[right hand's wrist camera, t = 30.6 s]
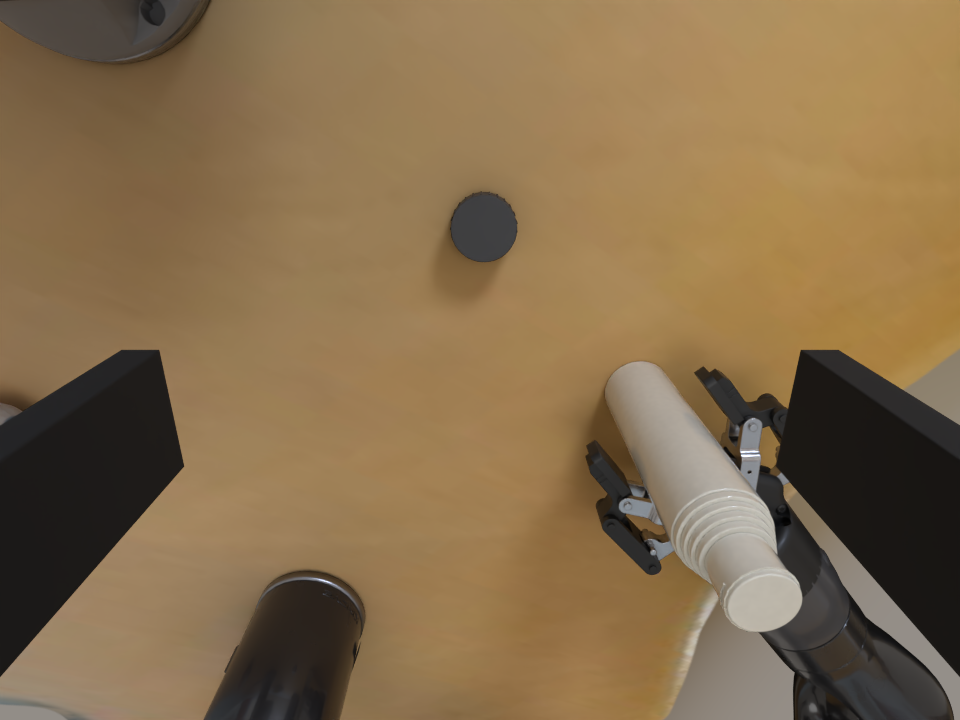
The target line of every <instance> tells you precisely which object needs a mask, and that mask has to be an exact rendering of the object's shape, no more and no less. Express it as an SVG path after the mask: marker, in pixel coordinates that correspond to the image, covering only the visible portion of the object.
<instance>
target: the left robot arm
mask: <svg viewBox="0 0 960 720" xmlns="http://www.w3.org/2000/svg"><path fill="white" fill-rule="evenodd" d="M694 373H695V375H696V376H697V377H698V379H699V380H700V382H701V383H702V384H703V386H704V387H705V388H706V390H707V391H708V392H709V394H710V395H711V397H712V398H713V399H714V401H715V402H716V403H717V405H718V406H719V408H720V409H721V410H722V411H723V413H724V414H725V415H726V416H727V424H726V431H725V433H723V434H722V437H721V444H720V445H721V447H722V448H723V449H724V451H725V452H726V453H727V454H728V456H729V457H730V458H731V460H732V461H733V462H734V464H735V465H736V466H737V468H738V469H739V470H740V472H741V473H742V474H743V475H744V477H745V478H746V479H747V481H748V482H749V483H750V485H751V486H752V487H753V489H754V490H755V491H756V492H757V494H758V495H759V496H760V498H761V499H762V500H763V502H764V503H765V504H766V506H767V507H768V509H769V511H770V514H771V516H772V518H773V521H774V526H775V535H776V543H777V555H778V557H779V558H780V560H781V561H782V562H783V564H784V565H785V567H786V568H787V570H788V571H789V572H790V573H792V574H793V575H794V576H795V577H796V579H797V581H798V582H799V585H800V589H801V592H802V605H801V608H800V610H799V612H798V613H797V614H796V616H795V617H794V618H793V619H792V620H791V621H790V622H788V623H787V624H785V625H784V626H782V627H780V628H777V629H775V630H771V631H766V632H759V633H760V634H761V635H762V637H763V638H764V639H765V640H766V641H767V643H768V644H769V645H770V646H771V648H772V649H773V650H774V651H775V652H776V654H777V655H778V656H779V657H780V658H781V659H782V661H783V662H784V663H785V664H786V665H787V666H788V667H789V668H790V669H791V670H792V671H794V672H795V674H794V684H793V707H794V720H954V716H953V711H952V707H951V704H950V702H949V699H948V697H947V695H946V693H945V691H944V689H943V688H942V686H941V684H940V683H939V681H938V680H937V679H936V677H935V676H934V675H933V674H932V673H931V672H930V670H929V669H928V668H927V667H926V666H925V665H924V664H923V663H922V662H921V661H919V660H918V659H917V658H916V657H915V656H914V655H912V654H911V653H910V652H909V651H908V650H907V649H905V648H904V647H903V646H902V645H901V644H899V643H898V642H897V641H896V640H895V639H893V638H892V637H891V636H890V635H889V634H887V633H886V632H885V631H883V630H882V629H881V628H879V627H878V626H876V625H875V624H874V623H872V622H871V621H870V620H869V619H868V618H866V617H865V615H864V614H863V612H862V611H861V609H860V608H859V606H858V605H857V603H856V602H855V601H854V599H853V598H852V597H851V595H850V594H849V593H848V591H847V590H846V588H845V587H844V586H843V584H842V583H841V581H840V579H839V576H838V574H837V572H836V570H835V568H834V567H833V565H832V564H831V562H830V560H829V558H828V556H827V554H826V553H825V551H824V550H822V549H821V548H820V547H819V545H818V544H817V543H816V541H815V540H814V539H813V537H812V536H811V535H810V533H809V532H808V530H807V529H806V528H805V526H804V525H803V524H802V522H801V521H800V520H799V518H798V517H797V515H796V514H795V513H794V511H793V510H792V509H791V507H790V506H789V504H788V503H787V502H786V500H785V499H784V495H783V485H785V484H787V483H789V481H788V480H787V479H786V477H785V476H784V475H783V474H782V473H781V472H780V471H779V469H778V468H777V467H776V465H775V466H774V467H773V468H772V469H770V468H768V467H766V466H763V465H760V464H761V455H760V452H759V444H760V438H761V432H762V428H764V427H767V426H769V427H770V428H771V430H772V432H773V433H774V435H775V437H776V438H777V440H778V442H779V443H780V445H781V440H782V435H783V431H784V426H785V421H786V417H787V412H788V409H787V408H786V407H784V406H783V405H782V404H781V403H779V402H778V400H777V399H776V398H775V397H774V396H773V395H771V394H763V395H761V396H760V397H759V398H758V399H757V401H753V402H745V401H744V400H743V398H742V397H741V395H740V394H739V393H738V391H737V390H736V388H735V387H734V385H733V384H732V383H731V381H730V380H729V379H728V378H727V377H726V376H725V375H724V374H723V373H722V372H720V371H718V370H716V369H714V370H713V371H711V372H710V373H709V372H708V371H707V370H706V369H705V368H704V367H702V368H700V369H699V370H697V371H696V372H694ZM587 449H588V452H589V454H588V455H586V460H587V463H588V466H589V470H590V473H591V474H592V476H593V477H594V478H595V479H596V480H597V481H598V483H599V484H600V485H601V486H602V487H603V488H604V490H605V491H606V492H607V493H608V494H607V496H606V497H605V498H602V499H600V500H599V501H598V502H597V503H596V509H597V512H598V515H599V519H600V522H601V525H602V528H603V530H604V531H605V532H606V533H607V534H608V535H609V536H610V537H611V538H612V539H613V540H614V541H615V542H616V543H617V544H618V545H619V546H620V547H621V548H622V549H623V550H624V551H625V552H626V553H627V554H628V555H629V556H630V557H631V558H632V559H633V560H634V561H635V562H636V563H637V564H638V565H639V566H640V567H641V568H642V569H643V570H644V571H645V572H646V573H647V574H649V575H655V574H657V573H659V572H660V570H661V564H660V562H659V561H660V560H661V559H663V558H664V557H666V556H667V555H669V554H670V553H672V552H673V551H674V549H673V547H672V545H671V543H670V541H669V538H668V536H667V534H666V533H665V534H662V535H657V534H655V533H653V532H651V531H648V530H647V529H643V530H642V531H640V530H639V529H638V528H637V527H636V526H635V525H634V524H633V523H632V522H631V521H630V520H629V519H628V518H627V516H626V514H631V515H635V516H640V517H645V518H648V519H650V520H651V521H652V522H653V523H655V524H658V525H662V523H661V521H660V519H659V517H658V514H657V512H656V510H655V508H654V506H653V504H652V501H651V499H650V497H649V495H648V493H647V490H646V488H645V486H644V484H643V483H640V482H635V481H631V480H626V478H625V475H624V473H623V472H622V471H621V470H620V469H619V467H618V466H617V465H616V464H615V463H614V461H613V460H612V459H611V458H610V457H609V455H608V454H607V453H606V452H605V451H604V449H603V448H602V447H601V446H600V445H599V443H598V442H597V441H596V440H594V441H592V442H591V443H589V444H588V445H587ZM779 449H780V446H778V447H776V451H777V452H776V454H775V457H776V460H777V459H778V454H779ZM776 463H777V462H776ZM662 526H663V525H662ZM364 623H365V611H364V607H363V604H362V602H361V600H360V598H359V597H358V595H357V594H356V593H355V592H354V591H353V590H352V589H351V588H350V587H349V586H348V585H347V584H345V583H344V582H342V581H340V580H339V579H337V578H334V577H332V576H329V575H326V574H323V573H318V572H307V571H306V572H295V573H290V574H287V575H284V576H282V577H280V578H278V579H276V580H275V581H273V582H272V583H271V584H270V585H269V586H268V587H267V588H266V589H265V590H264V592H263V593H262V595H261V598H260V600H259V602H258V604H257V607H256V611H255V613H254V615H253V617H252V619H251V621H250V623H249V625H248V627H247V629H246V631H245V634H244V636H243V638H242V640H241V642H240V644H239V645H238V646H237V647H236V648H235V651H234V653H233V655H232V657H231V659H230V661H229V663H228V665H227V667H226V669H225V671H224V672H225V676H224V678H223V680H222V682H221V684H220V686H219V688H218V690H217V692H216V695H215V697H214V699H213V701H212V703H211V705H210V707H209V709H208V711H207V714H206V716H205V718H204V720H340V717H341V712H342V708H343V704H344V700H345V696H346V692H347V688H348V684H349V680H350V675H351V672H352V669H353V666H354V663H355V661H356V658H357V655H358V652H359V648H360V645H359V648H358V651H357V646H358V642H359V639H360V637H361V635H362V631H363V627H364ZM360 644H361V642H360ZM356 651H357V654H356ZM355 655H356V657H355ZM354 659H355V660H354Z"/></svg>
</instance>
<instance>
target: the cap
mask: <svg viewBox="0 0 960 720" xmlns="http://www.w3.org/2000/svg"><path fill="white" fill-rule="evenodd" d="M451 221H452V222H451V228H450V230H451V235H452V239H453V241H454V244H455V246H456V247H457V249H458V250H459V251H460V252H461V253H462V254H463V255H464V256H466V257H467V258H469V259H471V260H474V261H478V262H490V261H494V260H496V259H499V258H500V257H502V256H503V255H505V254H506V253H507V252H508V251H509V250H510V248H511V247H512V245H513V243H514V241H515V238H516V234H517V221H516V219H515V213H514V212H513V211H512V209H511V206H510V204H508V203H507V202H506V201H505V199H503V198H501V197H500V196H498V194H497V195H496V194H493V193H490V192H489V193H488V192H482V191H481V192H480V193H475V194H474V193H472V195H470V196H468V197H465V199H464V200H463V201H462V202H461V203H459V205H458V207H457V209H455V210H454V216H453V217H452V219H451Z"/></svg>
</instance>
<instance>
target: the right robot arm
mask: <svg viewBox="0 0 960 720" xmlns="http://www.w3.org/2000/svg"><path fill="white" fill-rule="evenodd" d="M209 1H210V0H0V21H2V22H3V23H4V24H6V25H7V26H8V27H10V28H11V29H13V30H14V31H16V32H17V33H19V34H21V35H22V36H24V37H26V38H27V39H29V40H31V41H33V42H35V43H37V44H39V45H42V46H44V47H46V48H49V49H51V50H53V51H56V52H59V53H61V54H64V55H67V56H71V57H74V58H78V59H84V60H89V61H94V62H100V63H110V64H124V63H132V62H138V61H142V60H146V59H149V58H152V57H154V56H157V55H159V54H161V53H163V52H165V51H167V50H168V49H170V48H171V47H173V46H174V45H176V44H177V43H178V42H180V41H181V40H182V39H183V38H184V37H185V36H186V35H187V34H188V33H189V32H190V31H191V30H192V28H193V27H194V26H195V25H196V23H197V22H198V20H199V19H200V18H201V16H202V14H203V13H204V11H205V9H206V7H207V5H208V3H209ZM183 467H184V463H183V459H182V454H181V449H180V445H179V440H178V435H177V431H176V426H175V421H174V417H173V412H172V407H171V403H170V398H169V394H168V389H167V384H166V380H165V375H164V370H163V366H162V361H161V356H160V352H159V350H121V351H119V352H118V353H116V354H114V355H113V356H111V357H110V358H108V359H106V360H105V361H103V362H102V363H100V364H98V365H97V366H95V367H93V368H92V369H90V370H89V371H87V372H85V373H84V374H82V375H81V376H79V377H77V378H76V379H74V380H73V381H71V382H69V383H68V384H66V385H64V386H63V387H61V388H60V389H58V390H56V391H55V392H53V393H52V394H50V395H48V396H47V397H45V398H43V399H42V400H40V401H39V402H37V403H35V404H34V405H32V406H31V407H29V408H27V409H26V410H24V411H23V412H21V413H19V414H18V415H16V416H14V417H13V418H11V419H10V420H8V421H6V422H5V423H3V424H2V425H0V677H1V675H2V674H3V673H4V672H5V671H6V670H7V669H8V667H9V666H10V665H11V664H12V663H13V662H14V661H15V659H16V658H17V657H18V656H19V655H20V654H21V653H22V651H23V650H24V649H25V648H26V647H27V646H28V645H29V643H30V642H31V641H32V640H33V639H34V638H35V637H36V635H37V634H38V633H39V632H40V631H41V630H42V628H43V627H44V626H45V625H46V624H47V623H48V622H49V620H50V619H51V618H52V617H53V616H54V615H55V614H56V612H57V611H58V610H59V609H60V608H61V607H62V606H63V604H64V603H65V602H66V601H67V600H68V599H69V598H70V596H71V595H72V594H73V593H74V592H75V591H76V590H77V588H78V587H79V586H80V585H81V584H82V583H83V582H84V580H85V579H86V578H87V577H88V576H89V575H90V574H91V572H92V571H93V570H94V569H95V568H96V567H97V566H98V564H99V563H100V562H101V561H102V560H103V559H104V558H105V556H106V555H107V554H108V553H109V552H110V551H111V550H112V548H113V547H114V546H115V545H116V544H117V543H118V541H119V540H120V539H121V538H122V537H123V536H124V535H125V533H126V532H127V531H128V530H129V529H130V528H131V527H132V525H133V524H134V523H135V522H136V521H137V520H138V519H139V517H140V516H141V515H142V514H143V513H144V512H145V511H146V509H147V508H148V507H149V506H150V505H151V504H152V503H153V501H154V500H155V499H156V498H157V497H158V496H159V495H160V493H161V492H162V491H163V490H164V489H165V488H166V487H167V485H168V484H169V483H170V482H171V481H172V480H173V479H174V477H175V476H176V475H177V474H178V473H179V472H180V471H181V469H182V468H183ZM776 467H777V468H778V469H779V471H780V472H781V473H782V474H783V475H784V476H785V477H786V479H787V480H788V481H789V482H790V483H791V484H792V485H793V487H794V488H795V489H796V490H797V491H798V492H799V493H800V495H801V496H802V497H803V498H804V499H805V500H806V501H807V503H808V504H809V505H810V506H811V507H812V508H813V509H814V511H815V512H816V513H817V514H818V515H819V516H820V517H821V519H822V520H823V521H824V522H825V523H826V524H827V525H828V527H829V528H830V529H831V530H832V531H833V532H834V533H835V535H836V536H837V537H838V538H839V539H840V540H841V541H842V543H843V544H844V545H845V546H846V547H847V548H848V550H849V551H850V552H851V553H852V554H853V555H854V556H855V558H856V559H857V560H858V561H859V562H860V563H861V564H862V566H863V567H864V568H865V569H866V570H867V571H868V572H869V574H870V575H871V576H872V577H873V578H874V579H875V580H876V582H877V583H878V584H879V585H880V586H881V587H882V588H883V590H884V591H885V592H886V593H887V594H888V595H889V596H890V598H891V599H892V600H893V601H894V602H895V603H896V604H897V606H898V607H899V608H900V609H901V610H902V611H903V612H904V614H905V615H906V616H907V617H908V618H909V619H910V620H911V622H912V623H913V624H914V625H915V626H916V627H917V628H918V630H919V631H920V632H921V633H922V634H923V635H924V636H925V638H926V639H927V640H928V641H929V642H930V643H931V645H932V646H933V647H934V648H935V649H936V650H937V651H938V653H939V654H940V655H941V656H942V657H943V658H944V659H945V661H946V662H947V663H948V664H949V665H950V666H951V667H952V668H953V670H954V671H955V672H956V673H957V674H958V675H959V676H960V425H958V424H957V423H955V422H954V421H952V420H950V419H949V418H947V417H946V416H944V415H942V414H941V413H939V412H937V411H936V410H934V409H933V408H931V407H929V406H928V405H926V404H925V403H923V402H921V401H920V400H918V399H917V398H915V397H913V396H912V395H910V394H908V393H907V392H905V391H904V390H902V389H900V388H899V387H897V386H896V385H894V384H892V383H891V382H889V381H887V380H886V379H884V378H883V377H881V376H879V375H878V374H876V373H875V372H873V371H871V370H870V369H868V368H867V367H865V366H863V365H862V364H860V363H858V362H857V361H855V360H854V359H852V358H850V357H849V356H847V355H846V354H844V353H842V352H841V351H839V350H801V352H800V356H799V361H798V366H797V370H796V375H795V380H794V384H793V389H792V394H791V398H790V403H789V407H788V412H787V417H786V421H785V426H784V431H783V435H782V440H781V445H780V449H779V454H778V459H777V463H776Z"/></svg>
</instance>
